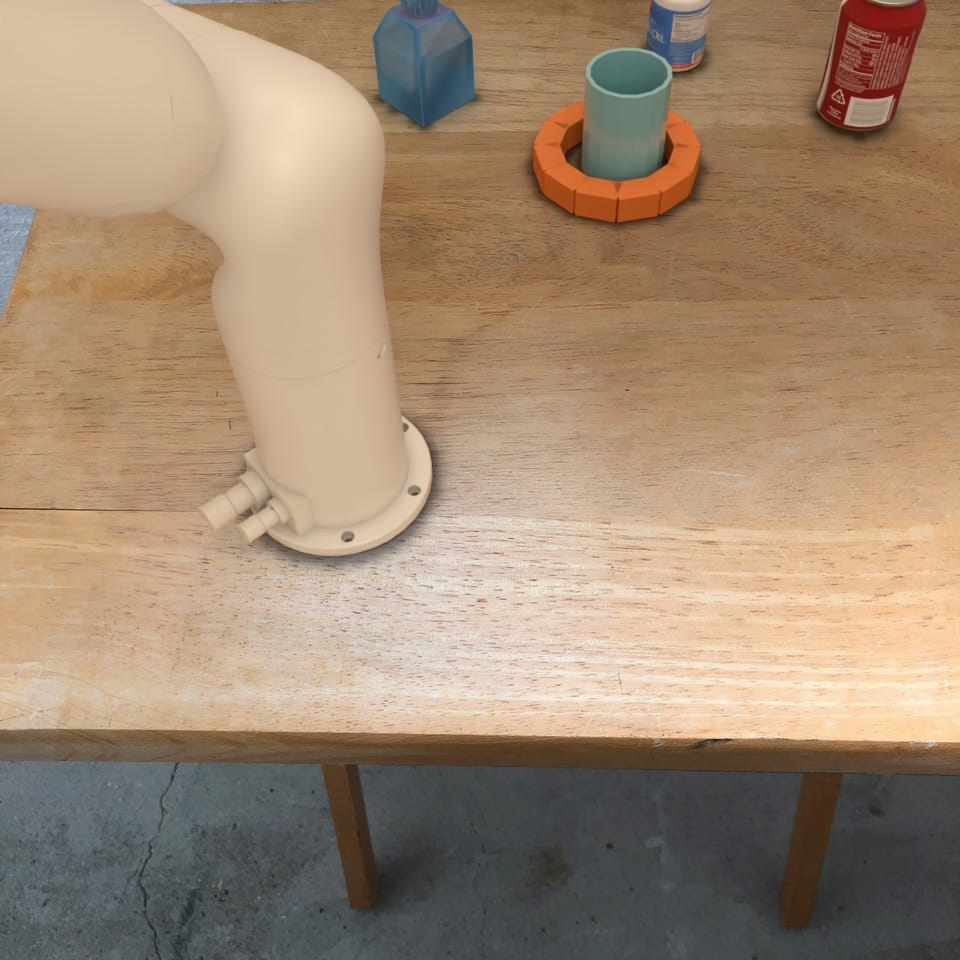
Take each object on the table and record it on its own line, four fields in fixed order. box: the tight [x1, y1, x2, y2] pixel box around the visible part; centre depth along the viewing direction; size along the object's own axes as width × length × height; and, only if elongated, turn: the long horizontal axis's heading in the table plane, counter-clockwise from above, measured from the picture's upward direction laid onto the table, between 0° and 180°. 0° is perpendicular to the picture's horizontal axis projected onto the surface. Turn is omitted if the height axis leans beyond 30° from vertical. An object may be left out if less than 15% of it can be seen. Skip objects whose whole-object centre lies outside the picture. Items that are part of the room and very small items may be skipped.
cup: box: [580, 47, 673, 182], centre depth 91 cm, size 7×7×9 cm
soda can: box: [816, 0, 928, 132], centre depth 93 cm, size 7×7×12 cm
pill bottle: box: [645, 0, 712, 73], centre depth 100 cm, size 6×5×10 cm
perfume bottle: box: [372, 0, 476, 128], centre depth 96 cm, size 6×6×12 cm
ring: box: [532, 100, 702, 223], centre depth 93 cm, size 14×14×2 cm
